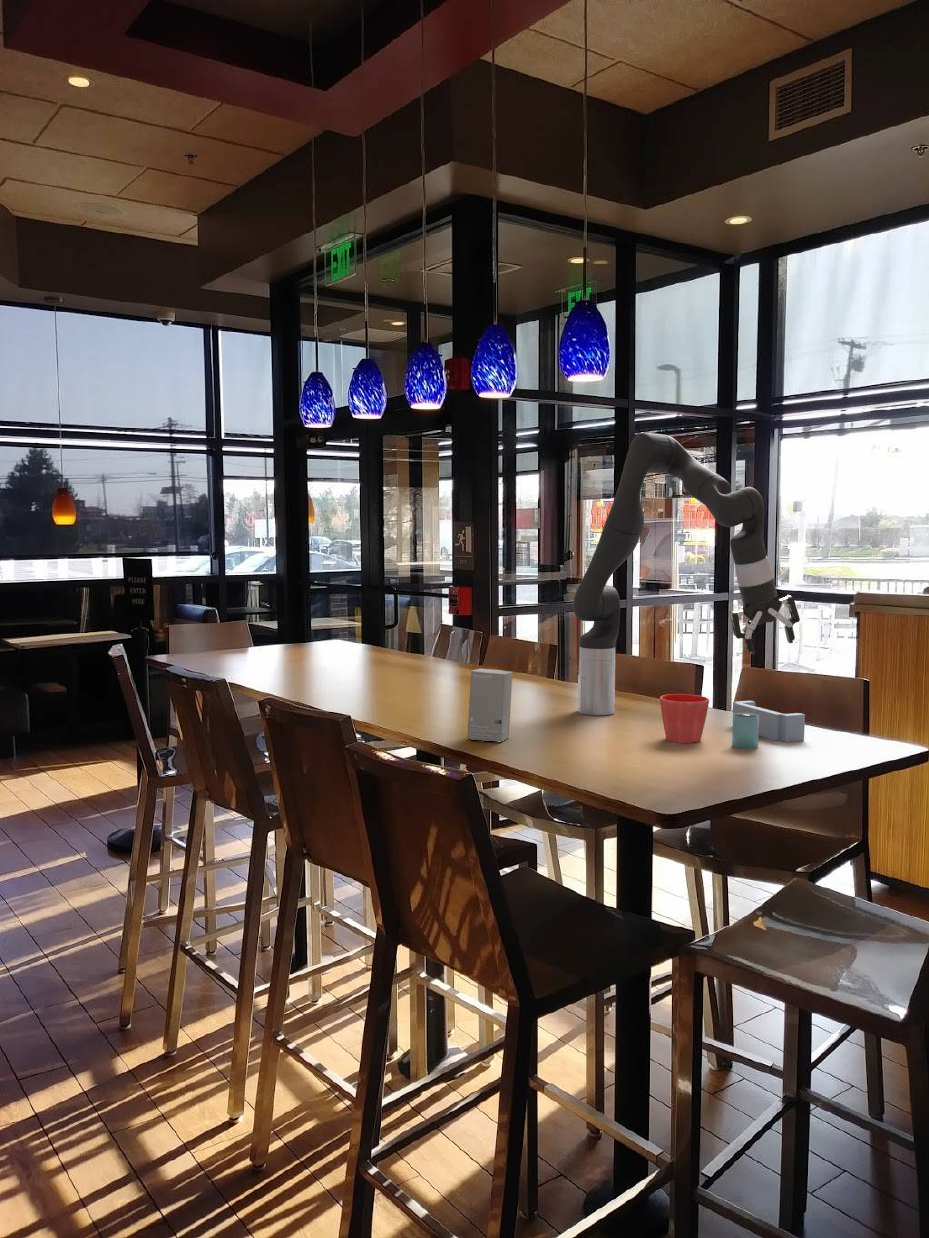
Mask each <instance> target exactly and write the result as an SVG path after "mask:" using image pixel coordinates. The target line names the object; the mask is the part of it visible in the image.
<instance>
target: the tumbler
mask: <svg viewBox="0 0 929 1238" xmlns="http://www.w3.org/2000/svg"><path fill="white" fill-rule="evenodd" d="M731 747H732V748H734V749H740V750H755V749H756V750H757V749H758V748H759V715H757V714H754V713H735V714H733V713H732V731H731Z"/></svg>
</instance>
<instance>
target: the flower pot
mask: <svg viewBox="0 0 929 1238" xmlns="http://www.w3.org/2000/svg"><path fill="white" fill-rule="evenodd" d="M659 704H660V710H661V711H660V712H661V717H662V724H663V729H664V734H665V738H666V740H667V741H669V742H672V741H673V743H677V742H678V743H679V744H693V743H699V742H701V740H702V736H703V733H704V728H705V724H706V719H707V716H708V715H707V714H708V709H709V705H710V698H708V697H706V696H704V695H697V694H688V693H687V694H686V693H671V694H669V693H667V694H664V695H661V696H660V697H659Z"/></svg>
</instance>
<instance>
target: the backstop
mask: <svg viewBox="0 0 929 1238" xmlns="http://www.w3.org/2000/svg"><path fill="white" fill-rule="evenodd" d="M735 713H754V714H757V715H759V736H760V737H762V738H766V739H769V740H773V741H776V742H777V741H781V742H784V743H792V742H791V741H794V742H804V741H805V724H806V722H805V721H806V720H805V718H806V714H804V713H800V712H795V713H781V712H779V711H776V710H775V711H774V710H770V709H767V708H764V707H763V708H762V707H760V706H759V707H758V706H756V701H753V700H740V701H738V700H737V701H733V702H732V715H733V714H735Z"/></svg>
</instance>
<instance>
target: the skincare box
mask: <svg viewBox="0 0 929 1238" xmlns="http://www.w3.org/2000/svg"><path fill="white" fill-rule="evenodd" d="M470 672H471V673H470V685H469V688H470V689H469V700H468V701H469V703H468V704H469V706H468V720H467V721H468V722H467V723H468V724H467V739H473V740H483V741H482V742H484V741H503V742H504V740H505V739H506V738H508V737H509V738H510V727H511V726H510V725H511V709H512V708H511V706H512V689H513V688H512V687H513V674H514V673H513V671H507V670H500V669H490V668H477V669H473V670H471V671H470ZM509 738H508V739H509ZM505 741H506V740H505Z"/></svg>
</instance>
